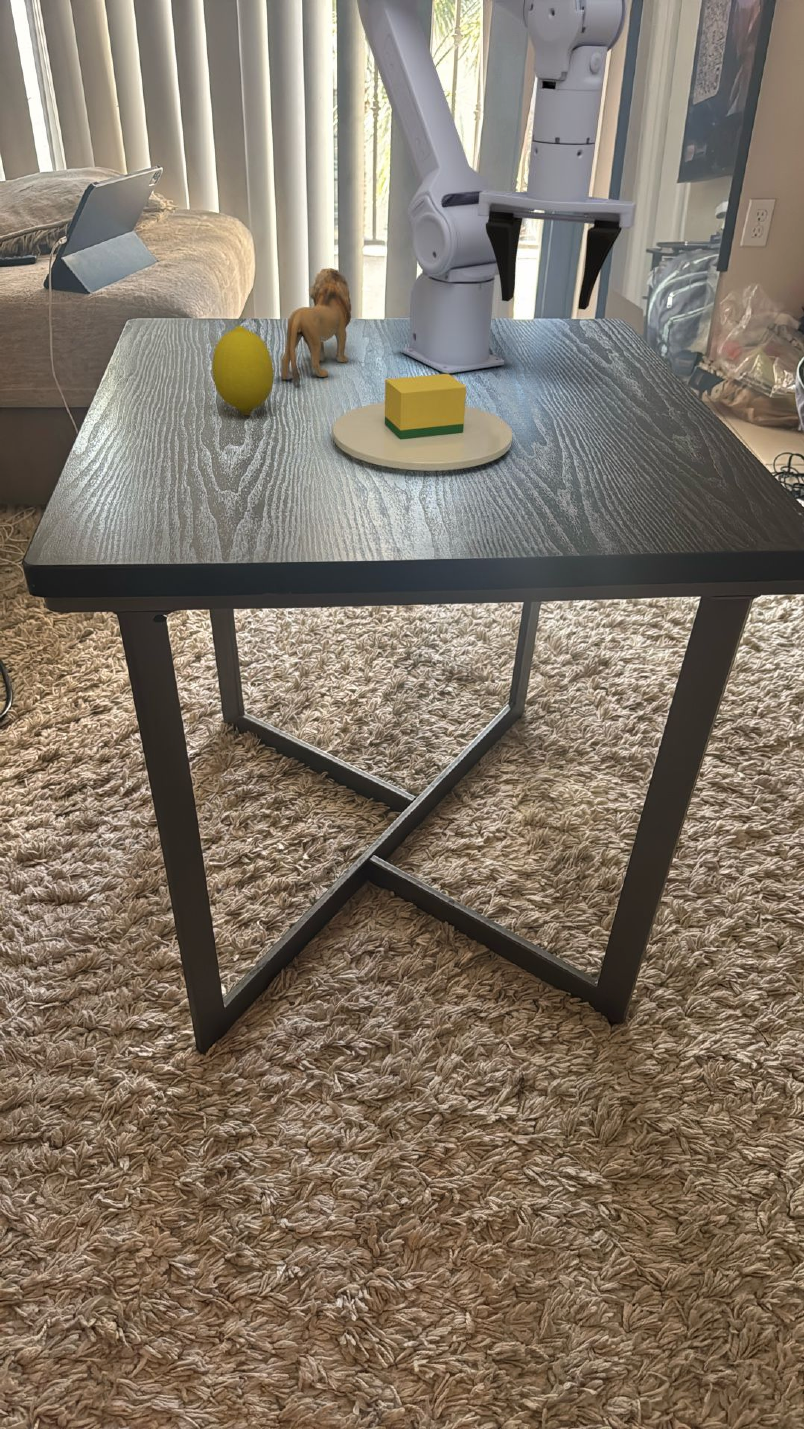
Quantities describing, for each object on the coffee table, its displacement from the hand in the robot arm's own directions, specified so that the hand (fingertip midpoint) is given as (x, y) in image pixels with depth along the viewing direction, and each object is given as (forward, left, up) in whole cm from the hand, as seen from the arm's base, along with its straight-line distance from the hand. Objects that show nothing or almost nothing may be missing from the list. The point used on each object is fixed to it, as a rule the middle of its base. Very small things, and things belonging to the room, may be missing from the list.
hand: (545, 303), depth 90 cm
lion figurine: (-17, -17, -9) cm, 26 cm away
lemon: (-6, -30, -9) cm, 32 cm away
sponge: (+8, -19, -7) cm, 22 cm away
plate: (+8, -19, -8) cm, 22 cm away
